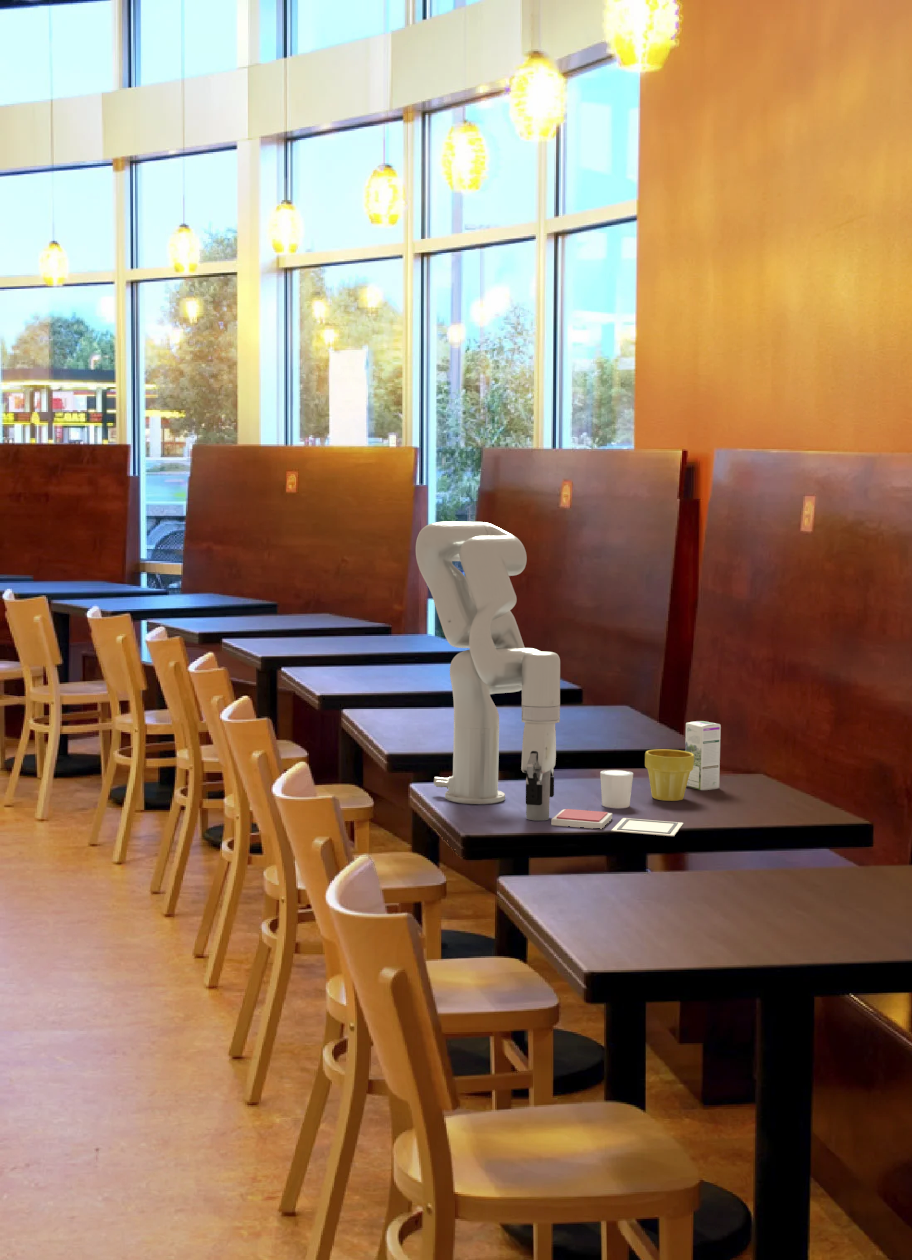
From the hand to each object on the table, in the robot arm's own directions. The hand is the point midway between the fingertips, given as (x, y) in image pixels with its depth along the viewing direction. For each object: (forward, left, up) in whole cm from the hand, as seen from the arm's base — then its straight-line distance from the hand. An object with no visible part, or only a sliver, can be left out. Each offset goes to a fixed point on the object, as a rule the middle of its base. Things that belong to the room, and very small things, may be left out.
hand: (540, 800), depth 302 cm
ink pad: (+8, 0, -4) cm, 9 cm away
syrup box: (+25, +46, -4) cm, 53 cm away
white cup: (+11, +19, -4) cm, 23 cm away
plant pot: (+20, +31, -4) cm, 38 cm away
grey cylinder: (-1, 0, -4) cm, 4 cm away
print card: (+21, 0, -4) cm, 22 cm away
